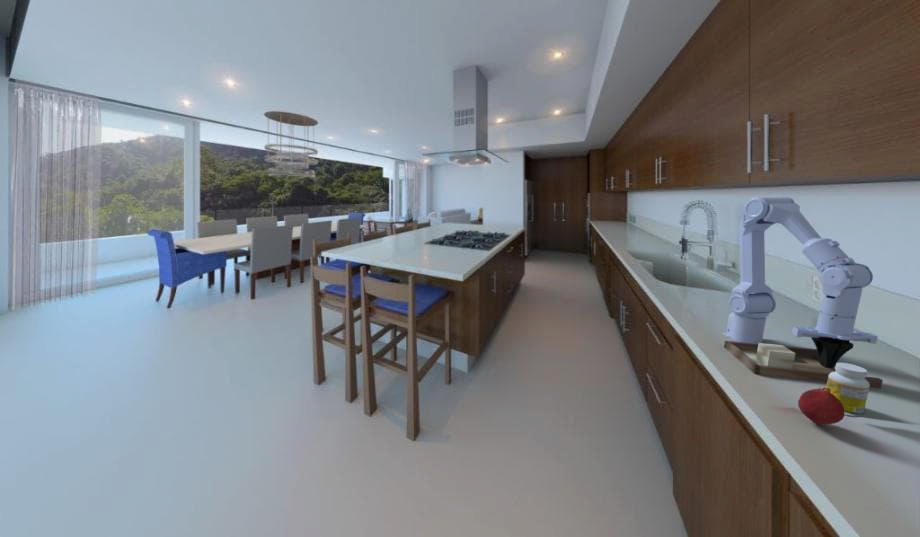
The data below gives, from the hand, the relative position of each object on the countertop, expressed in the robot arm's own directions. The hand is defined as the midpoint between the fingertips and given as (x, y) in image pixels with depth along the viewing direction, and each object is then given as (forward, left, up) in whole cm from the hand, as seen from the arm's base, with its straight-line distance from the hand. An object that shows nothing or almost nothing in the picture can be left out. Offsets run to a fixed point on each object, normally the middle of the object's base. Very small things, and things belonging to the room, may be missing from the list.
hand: (826, 366), depth 79 cm
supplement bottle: (+16, -7, -3) cm, 18 cm away
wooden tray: (-2, -6, -2) cm, 7 cm away
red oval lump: (+23, -15, -3) cm, 28 cm away
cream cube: (0, -10, -1) cm, 10 cm away
